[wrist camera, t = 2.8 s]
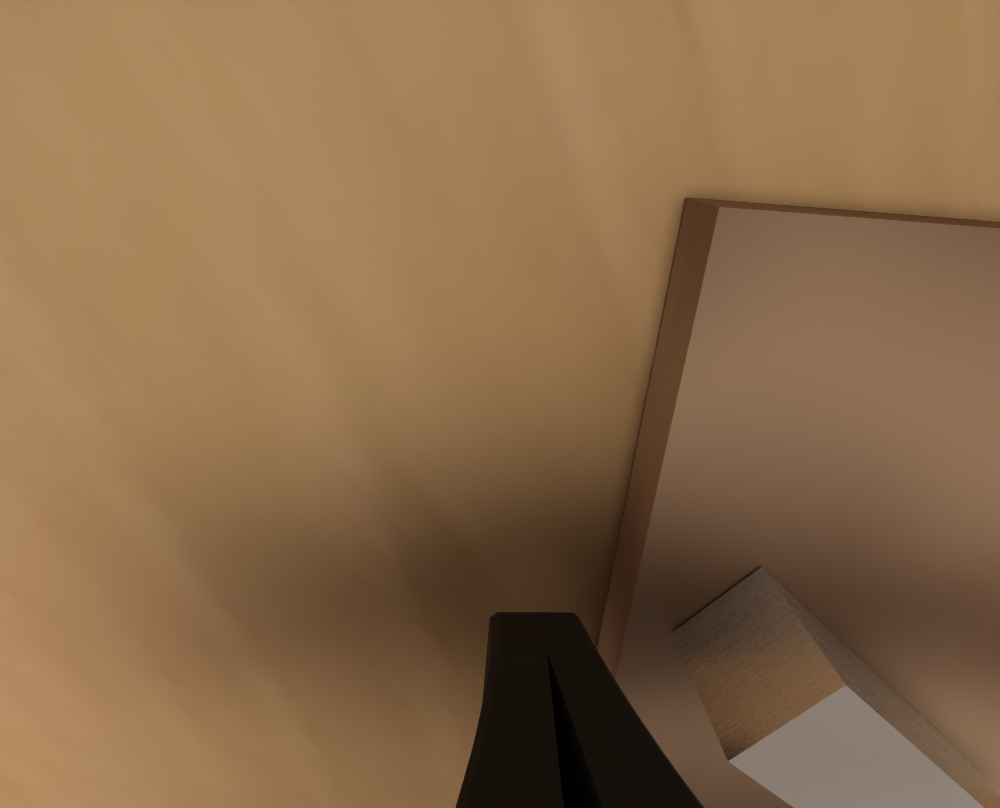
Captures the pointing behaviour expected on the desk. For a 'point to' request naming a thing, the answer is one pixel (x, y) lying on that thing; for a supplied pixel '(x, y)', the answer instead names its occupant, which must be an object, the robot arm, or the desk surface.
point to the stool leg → (815, 710)
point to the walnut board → (820, 464)
